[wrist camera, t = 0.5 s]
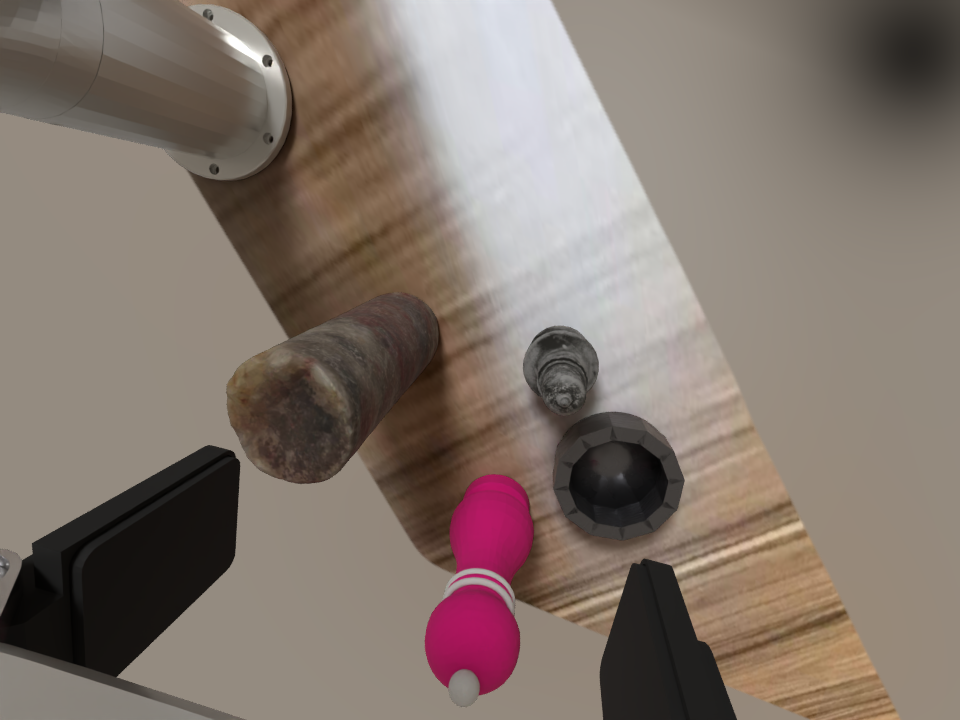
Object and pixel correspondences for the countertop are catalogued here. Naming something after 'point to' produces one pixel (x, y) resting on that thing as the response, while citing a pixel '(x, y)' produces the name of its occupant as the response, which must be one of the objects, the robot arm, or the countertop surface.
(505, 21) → the countertop surface
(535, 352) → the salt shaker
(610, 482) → the dark gray faceted bowl
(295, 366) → the candle
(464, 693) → the pepper mill
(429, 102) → the countertop surface
